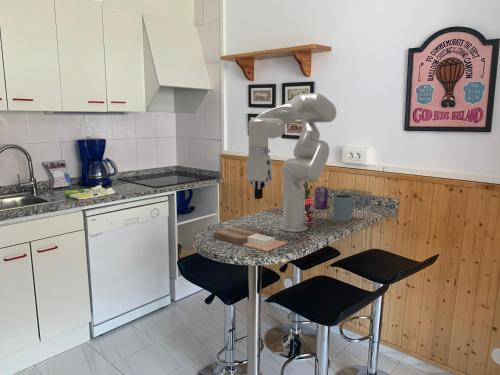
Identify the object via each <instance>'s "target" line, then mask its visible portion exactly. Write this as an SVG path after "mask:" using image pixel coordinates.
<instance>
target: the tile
mask: <svg viewBox="0 0 500 375" xmlns="http://www.w3.org/2000/svg"><path fill="white" fill-rule="evenodd" d="M274 240H276V238H275V237H273V236H270V235H269V236H268V235H266V234H265V235H264V234H263V235H261V234H254V235H251V236H248V237H247V243H251V244H255V245H258V246H262V247H267V246H270V245H272V244H274Z"/></svg>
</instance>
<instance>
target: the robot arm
mask: <svg viewBox="0 0 500 375" xmlns="http://www.w3.org/2000/svg"><path fill="white" fill-rule="evenodd" d="M336 117H337V108H336V106H335V105H334V103H333V102H332V101H331V100H329V99H328V98H327V97H326V96H325V95H323V94H321V93H318V92H309V93H306V92H305V93H299V94H296V95H295V96H294V97H292V98H291V99H289V100H288V101H287V102H285V103H284V104H282V105H279V106H276V107H274V108H271V109H268V110H265V111H263V112H261V113H260V114H258V115H257V116H256V117H254V118H253V119H250V120H249V121H248V123H247V124H248V128H247V129H248V134H247V135H248V154H247V158H246V164H245V177H246V179H247V180H246V182H247V183H249V184H251V186H252V189H253V190H254V191H253V192H254V193H253V195H254V200H261V199H263V198H264V196H263V195H264V193H263V192H264V189H265V186H268V185H271V180H273V165H272V160H271V159H272V158H271V155H269V154H270V153H271V149H269V138H271V139H272V138H273V139H275V138H279V137H281V136H283V135H284V134H285V130H286V126H287V125H290V124H293V123H295V122H296V121H298V120H299V119H300V122H301V134H300V136H299V138H298V139H297V141H296V143H295V145H294V149H293V157H294V158H288V159H285V160H284V162H283V163H282V165H281V173H282V174H281V175H282V181H283V182H282V183H283V203H282V204H283V210H282V211H283V212H282V223H281V224H280V225H279V229H280V230H281V231H284V232H290V233H300V232H306V231H307V230H308V225H307V224H305V222H308V221H309V220H310V219H309V217H308V216H306V217H305V214H304V212H305V201H306V189H305V186H304V183H303V182H307V183H315V182H317V181H318V180H319V179H320V177H321V176H322V173H323V171H324V169H325V166H326V164H327V161H328V159H329V157H330V146H329V143H327V142H326V141H325V140H321V139H320V137H321V134H320V130H319V129H318V127H317V126H316V124H315V123H331V122H333V121H334V120H335V119H336Z"/></svg>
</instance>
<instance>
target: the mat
mask: <svg viewBox="0 0 500 375" xmlns="http://www.w3.org/2000/svg"><path fill="white" fill-rule="evenodd" d="M287 244H288V241H287V242H286V241H282V240H279V239H275V240H274V244H272V245H270V246H267V247H262V246H258V245H255V244H251V243H245V244H243V245H242V246H246V247H248V248H252V249H256V250H259V251H263V252H267V253H268V252H270V251H273V250H274V249H275V250H276V249H277V248H280V247H282V246H285V245H287Z"/></svg>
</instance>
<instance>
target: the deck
mask: <svg viewBox="0 0 500 375" xmlns="http://www.w3.org/2000/svg"><path fill="white" fill-rule="evenodd" d="M254 234H261V235H264V232H263V231H261V230H257V229H252V228H248V227H245V226H239V225H233V226H230V227H227V228H223V229H219V230H217V231H213V232H212V236H213V237H212V238H213V239H216V240H220V241H221V242H227V243H230V244H234V245H237V246H244V245H243V244H245V243H247V237H248V236H251V235H254Z"/></svg>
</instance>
